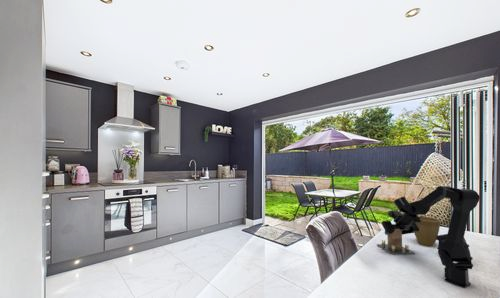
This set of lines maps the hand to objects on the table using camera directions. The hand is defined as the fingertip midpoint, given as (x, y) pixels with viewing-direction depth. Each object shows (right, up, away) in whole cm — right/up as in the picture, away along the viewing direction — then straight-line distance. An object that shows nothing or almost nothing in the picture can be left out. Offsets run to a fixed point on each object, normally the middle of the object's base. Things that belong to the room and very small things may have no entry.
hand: (392, 234), depth 127 cm
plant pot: (+26, -10, +8) cm, 29 cm away
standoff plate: (0, -8, -2) cm, 9 cm away
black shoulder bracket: (+22, -8, -15) cm, 28 cm away
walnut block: (0, -7, -2) cm, 8 cm away
